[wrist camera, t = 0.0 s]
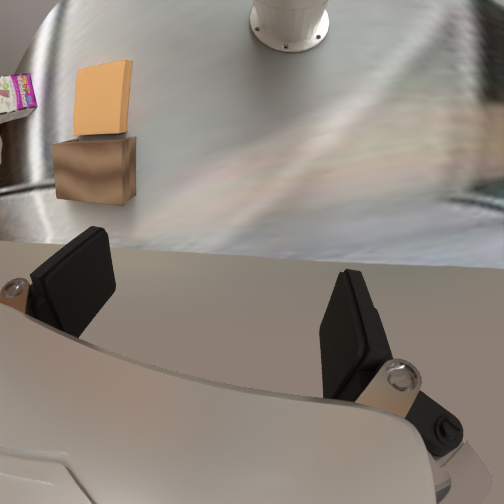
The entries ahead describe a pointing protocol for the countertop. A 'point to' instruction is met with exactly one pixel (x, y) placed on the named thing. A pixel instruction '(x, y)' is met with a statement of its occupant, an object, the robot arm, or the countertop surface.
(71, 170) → the walnut shelf
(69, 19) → the countertop surface
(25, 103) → the candy bar box
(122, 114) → the orange cover
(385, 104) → the countertop surface
